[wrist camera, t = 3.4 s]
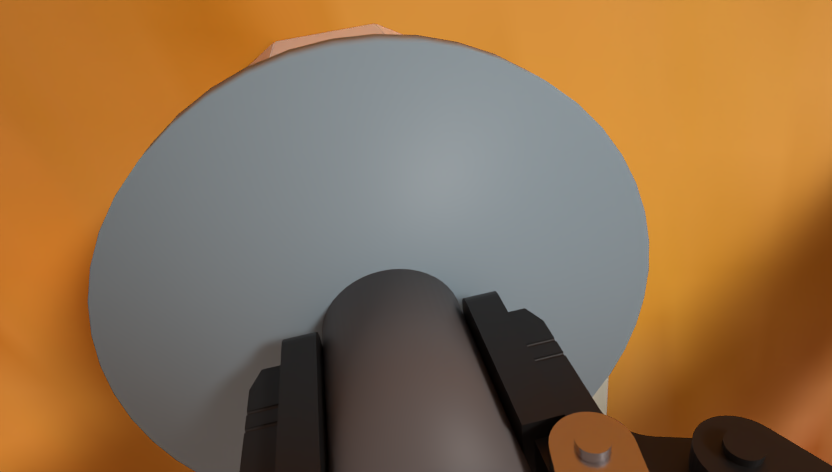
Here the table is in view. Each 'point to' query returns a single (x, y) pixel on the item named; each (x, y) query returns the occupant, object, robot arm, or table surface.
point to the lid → (364, 250)
